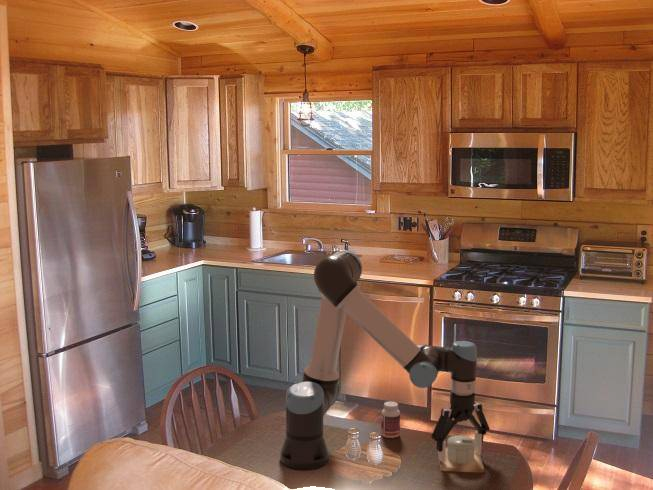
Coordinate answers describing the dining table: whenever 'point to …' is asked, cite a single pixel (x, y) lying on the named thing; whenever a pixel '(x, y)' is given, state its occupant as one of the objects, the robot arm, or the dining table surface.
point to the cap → (460, 449)
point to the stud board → (462, 465)
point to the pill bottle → (390, 420)
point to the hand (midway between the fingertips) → (459, 456)
